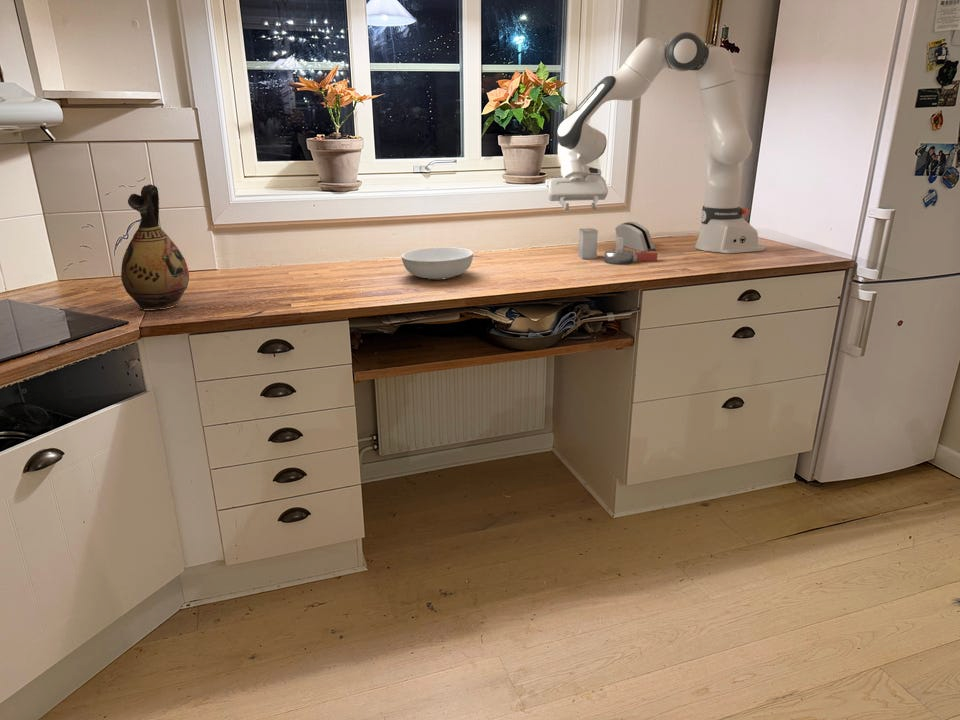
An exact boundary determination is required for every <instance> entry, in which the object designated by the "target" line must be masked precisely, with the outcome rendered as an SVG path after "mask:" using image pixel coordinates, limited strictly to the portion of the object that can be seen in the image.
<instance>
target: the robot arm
mask: <svg viewBox="0 0 960 720" xmlns="http://www.w3.org/2000/svg"><path fill="white" fill-rule="evenodd" d="M666 68H667V69H672V70H674V71H676V72H687V71H693V72H694V74H695V75H696V78H697V81H698V87H699V93H700V98H701V99H700V100H701V105H702V110H703V116H704V119H705V121H706V124H707V127H708V130H709V133H710V134H709V135H708V137H707V138H706V141H705V145H704V148H705V149H704V150H705V177H706V178H705V193H704V201H703V202H704V203H703V205H702V209H701V216H700V218H701V219H700V223H701V224H700V225H701V226H700V230H699V235H698V238H697V241H696V243H695V245H694V248H695V249H697V250H699V251H700V250H701V251H706V252H713V253H722V254H737V253H739V254H740V253H751V252H760V251H761V252H762V251H765V246H764V245H763V244H760V243H759V235H758V231H757V230H756V228H755V227H754V226H753V225H751V224H750V223H749V222H748V221H746V219H744V218H743V215H744V216H748V215H749V214H750V210H749V209H748V208H742V207H740V206H739V205H740V197H741V189H742V179H741V173H740V172H741V171H740V167H741V166H740V163H742V162H743V161H746V159H748V157H749V156H750V155H751V153H752V150H753V142H752V139H751V137H750V135H749V131H748V128H747V127H748V126H747V123H746V120H745V118H744V117H745V116H744V114H743V111H742V107H741V103H740V96H739V90H738V83H737V77H736V72H735V67H734V64H733V61H732V58H731V55H730V52H729V51H728V50H727V48H725V47H721V46H713V47H708V46H707V45H706V43H704V41H702V39H701V37H699V36H698V35H697V34H696V33H693V32H690V31H685V32H681V33H678V34H677V35H674V37H672V38H671V39H670V40H669V41H667V42H663V41H661V40H659V39H658V38H655V37H646V38H644V39H643V40H642V41H640V43H639V44H638V45H637V46H636V47H635V48H634V50H633V51H632V52H631V53H630V54H629V56H628V57H627V59H626V60H625V61H624V63H623V64H622V65H621V66H620V68H619V69H618V70H616V72H614V73H613V74H611V75H608V76H605V77H603V78H602V79H601V80H600V81H598V82H597V84H596V85H595V86H594V87H593V88H592V89H591V91H589V93H588V94H587V95H586V96H585V97H584V99H583V100H582V101H581V102H580V103H579V104H578V105H577V107H576V108H575V109H573V111H572V112H571V113H570V114H569V115H567V117H565V118H564V119H563V120H562V121H561V122H560V124H559V125H558V127H557V131H556V136H557V137H556V138H557V141H558V143H557V158H558V163H559V165H560V175H557V176H556V175H555V176H548V177H546V179H545V186H546V187H547V199H548V200H549V201H550V202H558V203H559V204H560V205H561V206H562V208H563V211H569V210H570V205H569V204H570V203H567V202H569V201H570V202H571V201H573V202H574V201H592V202H591V205H590V209H591V211H592V210H597V207H598V206H597V204H598V201H603V200H606V199H607V196H608V194H609V193H608V192H609V190H608V186H607V181H606V179H605V178H604V177H603V176H602V170H601V169H599V168H597V167H592V166H589V165H588V164H590V163H593V161H596V160H597V159H599V158H600V157H602V155H603V154H604V153H605V151H606V148H607V142H608V141H607V137H606V134H604V133H603V132H602V131H600V130H598V129H597V128H595V127H593V126H591V125H590V124H588V123H587V122H588V121H589V120H590V118H592V116H593V115H594V114H595V113H596V112H597V111H598V110H599V109H600V108H601V107H602V106H603V105H604V104H605V103H607V102H609V101H618V100H619V101H625V102H626V101H627V102H628V101H634V100H637V99H640V98H641V97H642V96H643V95H644V94H645V93H646V92H647V90H648V89H649V88H650V86H651V85H652V83H653V81H654V80H655V79H656V77H657V76H658V75H659V74H660V73H661V71H663V70H664V69H666Z"/></svg>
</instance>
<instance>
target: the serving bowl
mask: <svg viewBox="0 0 960 720" xmlns="http://www.w3.org/2000/svg"><path fill="white" fill-rule="evenodd" d="M473 257H474V252H473V251H472V250H470V249H469V248H464V247H463V248H462V247H453V246H435V247H433V246H432V247H423V248H416V249H412V250H409V251H406V252H404V253H402V254H401V262H402V264H403V266H404V268H405V270H406V271H407V272H409V273H410V274H411V275H413V276H416V277H417V278H422V279H425V278H428V279H427V280H431V279H442V280H444V279H443V278H448V279H451V278H453V277H456V276H459V275H462V274H463V273H465V272H466V271H468V269H469V268H470V267H471V264H472V263H473V259H474V258H473ZM450 277H451V278H450Z"/></svg>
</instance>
